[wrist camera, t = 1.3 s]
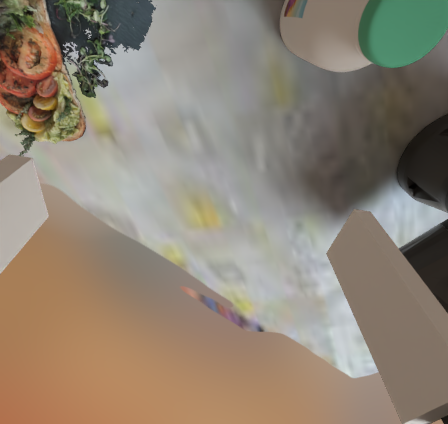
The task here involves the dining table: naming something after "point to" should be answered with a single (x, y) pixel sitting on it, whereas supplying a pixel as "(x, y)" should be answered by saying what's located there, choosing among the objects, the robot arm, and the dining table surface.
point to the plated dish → (60, 59)
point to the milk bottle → (362, 31)
